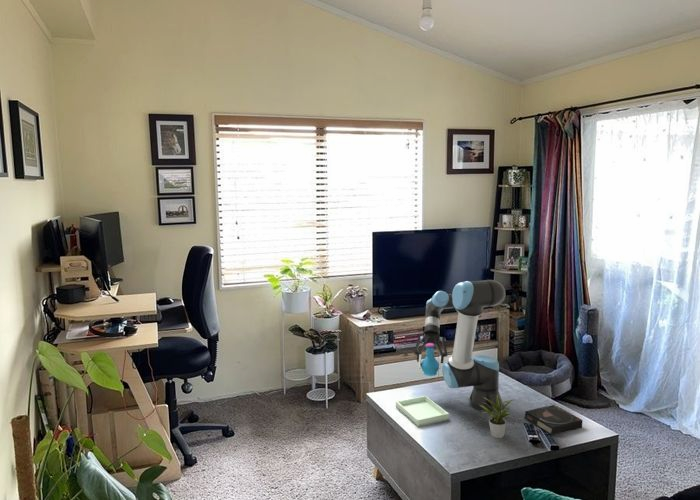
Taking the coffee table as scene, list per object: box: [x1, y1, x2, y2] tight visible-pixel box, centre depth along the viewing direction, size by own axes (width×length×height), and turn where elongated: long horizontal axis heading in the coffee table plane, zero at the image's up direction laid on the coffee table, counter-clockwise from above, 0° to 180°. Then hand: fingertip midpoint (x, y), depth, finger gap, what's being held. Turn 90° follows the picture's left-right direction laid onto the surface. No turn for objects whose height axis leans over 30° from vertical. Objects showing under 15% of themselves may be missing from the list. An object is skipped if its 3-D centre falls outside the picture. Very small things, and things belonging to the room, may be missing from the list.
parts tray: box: [395, 395, 450, 428], centre depth 239 cm, size 21×16×3 cm
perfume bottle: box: [420, 343, 439, 377], centre depth 254 cm, size 9×9×15 cm
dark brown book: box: [524, 404, 583, 436], centre depth 227 cm, size 16×17×4 cm
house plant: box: [480, 395, 516, 439], centre depth 218 cm, size 14×14×16 cm
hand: (429, 368), depth 251 cm, fingers closed on perfume bottle, 9 cm apart
